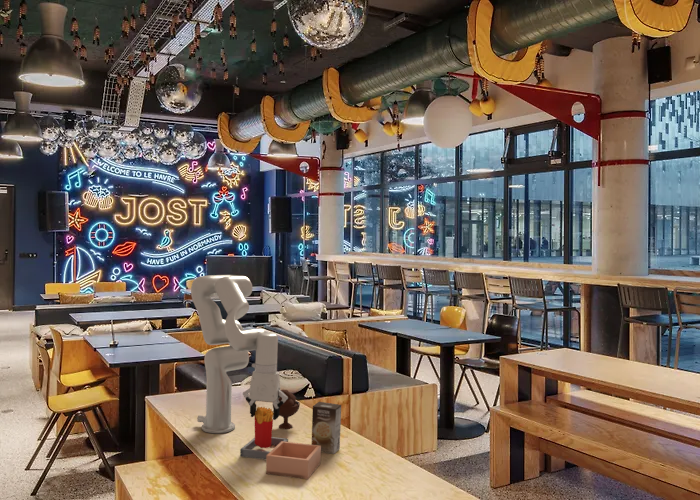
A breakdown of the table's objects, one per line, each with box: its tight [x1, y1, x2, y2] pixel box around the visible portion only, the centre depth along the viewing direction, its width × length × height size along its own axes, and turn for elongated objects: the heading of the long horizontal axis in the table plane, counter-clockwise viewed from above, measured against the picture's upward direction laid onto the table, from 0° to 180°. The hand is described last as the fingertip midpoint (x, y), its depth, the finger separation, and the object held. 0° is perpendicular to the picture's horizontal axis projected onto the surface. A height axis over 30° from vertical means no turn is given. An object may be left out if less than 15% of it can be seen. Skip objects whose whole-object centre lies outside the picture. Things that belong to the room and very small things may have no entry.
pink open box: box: [265, 441, 322, 480], centre depth 206 cm, size 14×14×6 cm
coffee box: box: [311, 401, 342, 455], centre depth 224 cm, size 9×6×16 cm
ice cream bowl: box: [272, 389, 301, 430], centre depth 247 cm, size 11×11×15 cm
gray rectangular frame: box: [239, 436, 289, 460], centre depth 221 cm, size 12×15×2 cm
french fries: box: [254, 406, 274, 449], centre depth 221 cm, size 9×4×13 cm, turn 41°
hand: (264, 417), depth 221 cm, fingers closed on french fries, 7 cm apart
